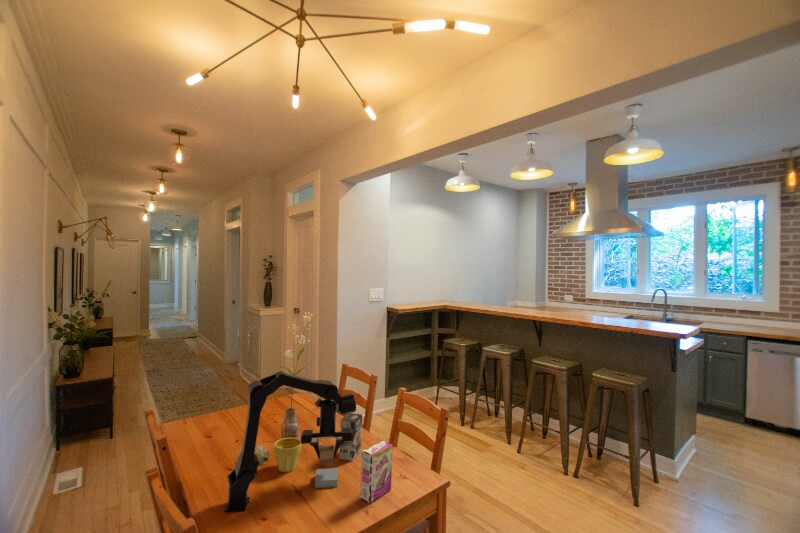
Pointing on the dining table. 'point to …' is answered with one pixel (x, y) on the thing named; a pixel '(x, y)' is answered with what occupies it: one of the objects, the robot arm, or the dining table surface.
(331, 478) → the plinth
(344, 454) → the coffee box
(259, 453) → the grey rounded lump
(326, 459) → the walnut cube
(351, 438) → the robot arm
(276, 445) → the plant pot
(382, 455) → the candy bar box
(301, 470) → the dining table surface
